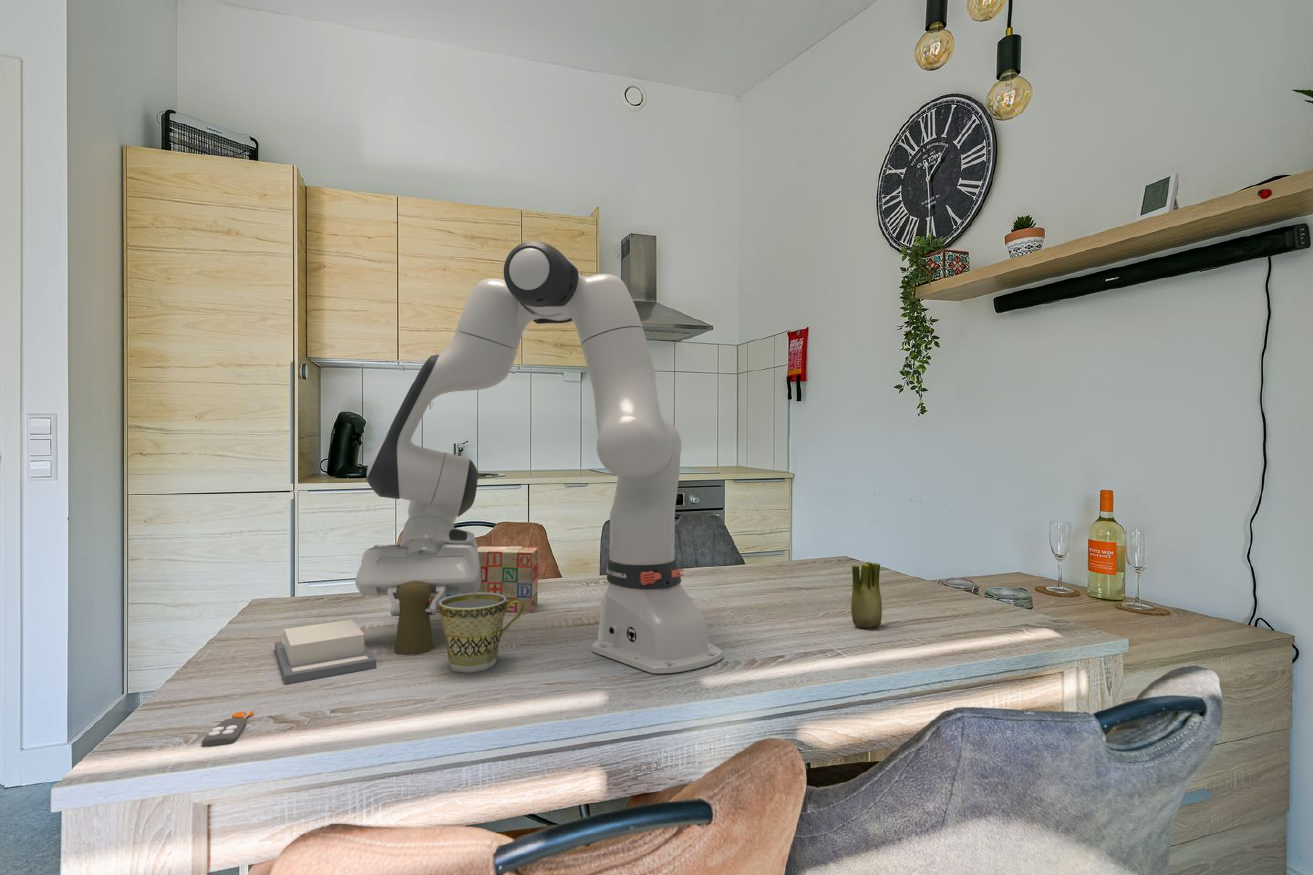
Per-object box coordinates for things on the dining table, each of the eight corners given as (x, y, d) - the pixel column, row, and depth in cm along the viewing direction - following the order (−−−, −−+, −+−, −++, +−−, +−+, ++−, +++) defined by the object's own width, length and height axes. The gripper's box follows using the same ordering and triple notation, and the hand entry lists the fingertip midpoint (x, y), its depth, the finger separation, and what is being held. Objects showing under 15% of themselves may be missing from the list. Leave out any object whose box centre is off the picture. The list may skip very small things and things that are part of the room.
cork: (400, 643, 110) (401, 578, 110) (437, 642, 111) (437, 577, 111) (389, 655, 104) (389, 586, 104) (427, 654, 105) (428, 585, 105)
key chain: (236, 747, 74) (237, 734, 74) (199, 751, 73) (199, 738, 73) (271, 702, 87) (271, 691, 87) (239, 705, 86) (239, 694, 86)
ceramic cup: (444, 681, 93) (444, 611, 93) (433, 660, 102) (433, 596, 102) (533, 667, 99) (533, 601, 99) (515, 648, 108) (515, 587, 108)
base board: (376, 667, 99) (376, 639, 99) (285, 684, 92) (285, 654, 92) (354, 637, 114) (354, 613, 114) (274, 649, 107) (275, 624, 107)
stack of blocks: (425, 612, 131) (425, 550, 131) (436, 604, 137) (436, 545, 137) (532, 613, 130) (532, 551, 130) (538, 605, 137) (538, 546, 137)
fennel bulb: (851, 629, 120) (852, 564, 120) (848, 622, 124) (848, 559, 124) (885, 631, 119) (885, 565, 119) (880, 624, 123) (880, 560, 123)
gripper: (361, 534, 113) (341, 605, 104) (482, 533, 116) (474, 602, 106) (369, 556, 118) (351, 625, 108) (486, 553, 120) (478, 621, 111)
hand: (413, 614), depth 107 cm, fingers closed on cork, 4 cm apart
